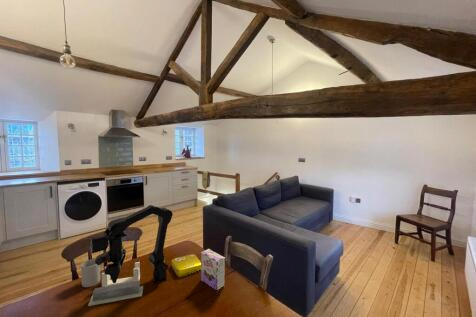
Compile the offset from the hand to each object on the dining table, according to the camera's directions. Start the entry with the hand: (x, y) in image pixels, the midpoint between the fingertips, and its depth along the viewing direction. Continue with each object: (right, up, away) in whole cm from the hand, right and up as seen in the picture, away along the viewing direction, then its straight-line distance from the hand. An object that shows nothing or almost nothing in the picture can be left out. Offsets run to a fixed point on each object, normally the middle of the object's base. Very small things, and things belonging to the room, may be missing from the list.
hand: (116, 277), depth 109 cm
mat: (0, -10, +1) cm, 10 cm away
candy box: (+46, -10, +12) cm, 48 cm away
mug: (-20, -9, +13) cm, 25 cm away
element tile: (+28, -9, +27) cm, 40 cm away
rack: (-4, -9, +12) cm, 16 cm away
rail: (0, -9, +1) cm, 9 cm away
